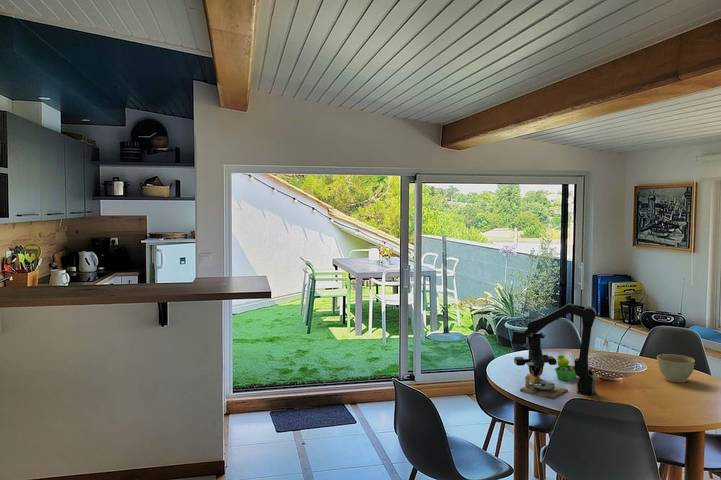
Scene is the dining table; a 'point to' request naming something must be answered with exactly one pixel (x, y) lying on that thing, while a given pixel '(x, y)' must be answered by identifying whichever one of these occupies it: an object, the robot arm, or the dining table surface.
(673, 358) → the planter bowl
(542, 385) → the flange plate
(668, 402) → the dining table surface
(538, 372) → the cup
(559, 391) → the post board
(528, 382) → the dowel pin
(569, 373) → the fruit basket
